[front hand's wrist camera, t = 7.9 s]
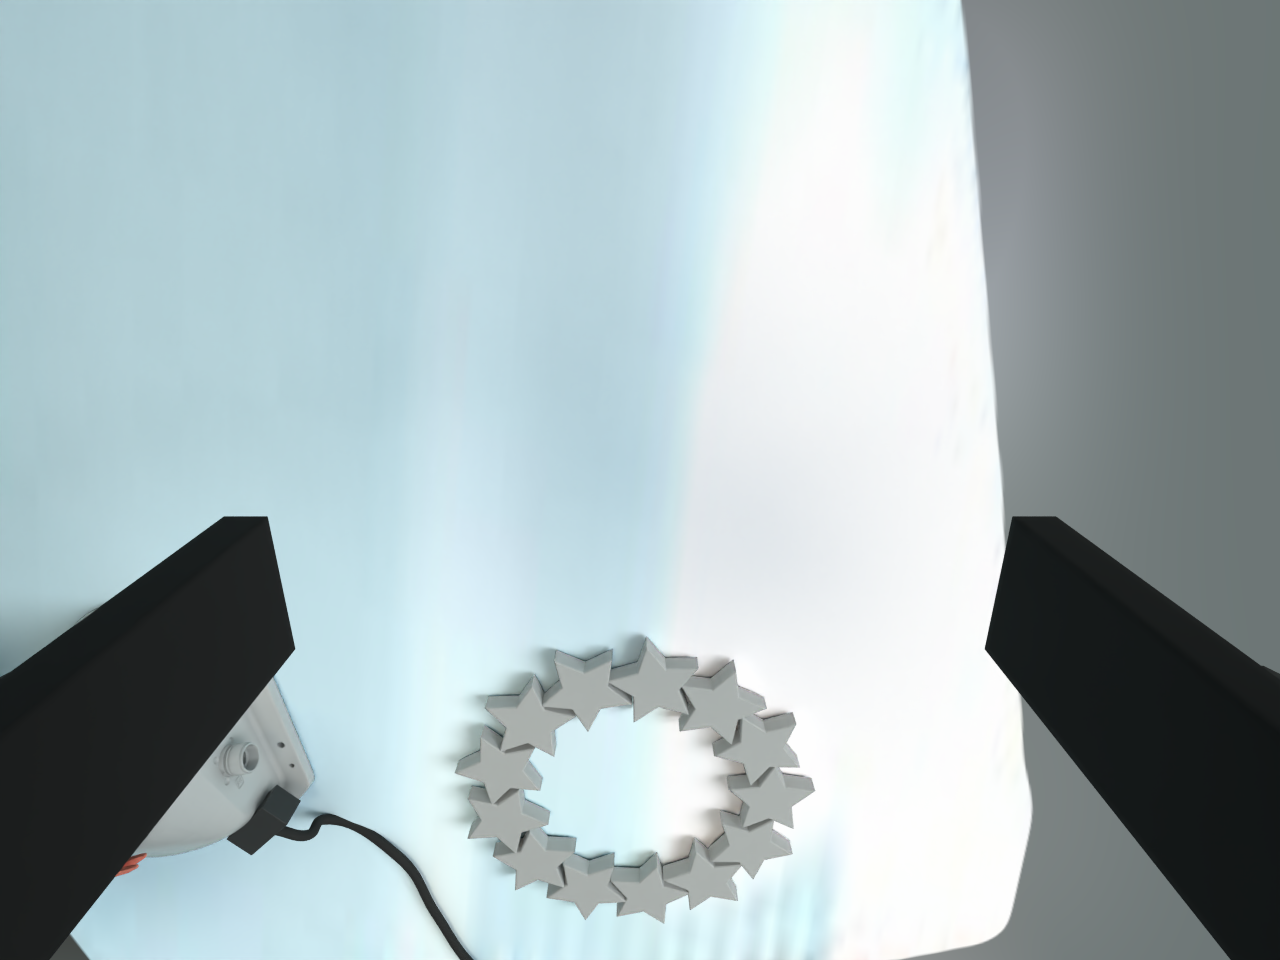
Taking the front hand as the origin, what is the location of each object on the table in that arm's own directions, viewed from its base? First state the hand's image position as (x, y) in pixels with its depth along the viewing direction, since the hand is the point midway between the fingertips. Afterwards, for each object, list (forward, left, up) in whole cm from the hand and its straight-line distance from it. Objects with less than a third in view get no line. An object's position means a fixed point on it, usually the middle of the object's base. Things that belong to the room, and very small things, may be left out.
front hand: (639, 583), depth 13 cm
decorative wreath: (+40, 0, -36) cm, 53 cm away
